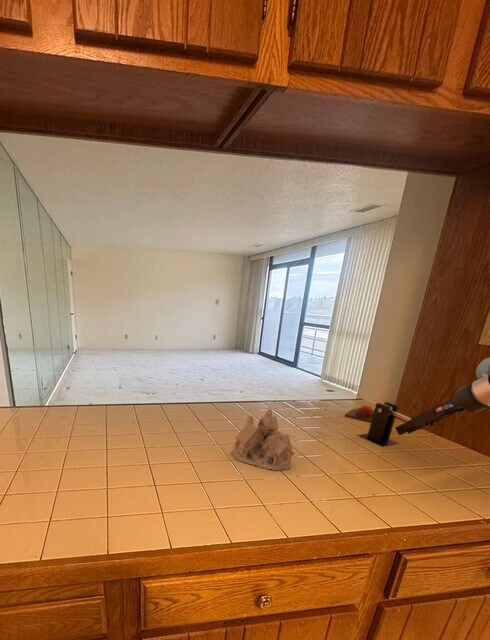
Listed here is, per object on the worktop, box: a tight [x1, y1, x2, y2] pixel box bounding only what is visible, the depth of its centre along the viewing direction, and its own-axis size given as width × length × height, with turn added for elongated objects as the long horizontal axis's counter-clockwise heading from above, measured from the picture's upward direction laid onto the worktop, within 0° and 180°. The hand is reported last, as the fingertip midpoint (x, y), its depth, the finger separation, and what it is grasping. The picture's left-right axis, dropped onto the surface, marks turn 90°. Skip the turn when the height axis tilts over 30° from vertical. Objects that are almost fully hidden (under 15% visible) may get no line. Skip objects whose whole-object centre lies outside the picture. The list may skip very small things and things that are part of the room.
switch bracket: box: [357, 401, 400, 448], centre depth 117 cm, size 10×8×14 cm
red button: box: [360, 405, 373, 413], centre depth 139 cm, size 4×4×2 cm
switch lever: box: [386, 405, 426, 431], centre depth 111 cm, size 14×4×4 cm, turn 22°
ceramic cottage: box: [230, 407, 295, 471], centre depth 103 cm, size 16×16×15 cm
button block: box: [344, 407, 375, 424], centre depth 140 cm, size 12×10×4 cm
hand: (402, 430), depth 111 cm, fingers closed on switch lever, 4 cm apart
